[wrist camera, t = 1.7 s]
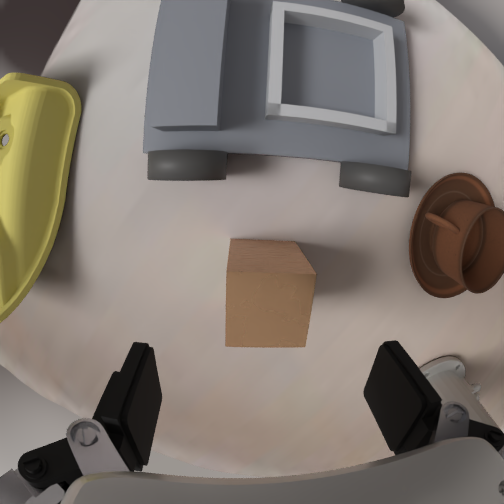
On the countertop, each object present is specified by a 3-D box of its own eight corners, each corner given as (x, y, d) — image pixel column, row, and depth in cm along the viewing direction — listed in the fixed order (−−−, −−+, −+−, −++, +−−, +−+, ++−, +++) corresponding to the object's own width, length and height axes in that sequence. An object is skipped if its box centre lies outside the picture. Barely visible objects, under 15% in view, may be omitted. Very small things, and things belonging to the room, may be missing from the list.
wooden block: (294, 241, 23) (316, 274, 16) (288, 298, 24) (305, 346, 17) (230, 238, 22) (226, 271, 16) (228, 297, 24) (225, 346, 17)
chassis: (394, 12, 16) (421, -9, 12) (396, 192, 22) (431, 201, 17) (170, -14, 15) (156, -45, 10) (148, 176, 21) (122, 181, 16)
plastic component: (-14, 91, 15) (14, 67, 11) (42, 101, 22) (88, 87, 18) (-29, 289, 19) (-4, 336, 15) (22, 278, 26) (62, 315, 22)
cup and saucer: (389, 293, 25) (423, 325, 19) (407, 161, 21) (451, 165, 15) (472, 287, 25) (506, 311, 19) (490, 181, 22) (531, 189, 16)
